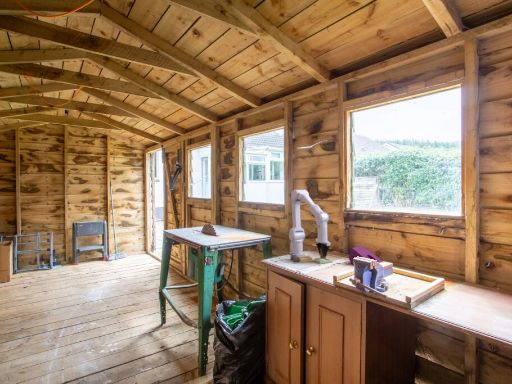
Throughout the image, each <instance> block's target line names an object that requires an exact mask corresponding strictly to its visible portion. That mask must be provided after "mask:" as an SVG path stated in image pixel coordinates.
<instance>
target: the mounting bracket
mask: <svg viewBox="0 0 512 384" xmlns="http://www.w3.org/2000/svg"><path fill="white" fill-rule="evenodd" d="M357 256H359V257H365V258H370V259H374V260H377V261H378V262H383V260H382V259H380V258H379V257H378V256H377V255H375V254H374V253H373V252H372V251H370V250H369V249H368V248H366V247H365V246H364V245H361V246H353V247H351V249H350V252H349V254H348V259H349V262H350V263H351V264H352V265H354V264H353V258H354V257H357ZM383 263H384V262H383Z"/></svg>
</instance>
